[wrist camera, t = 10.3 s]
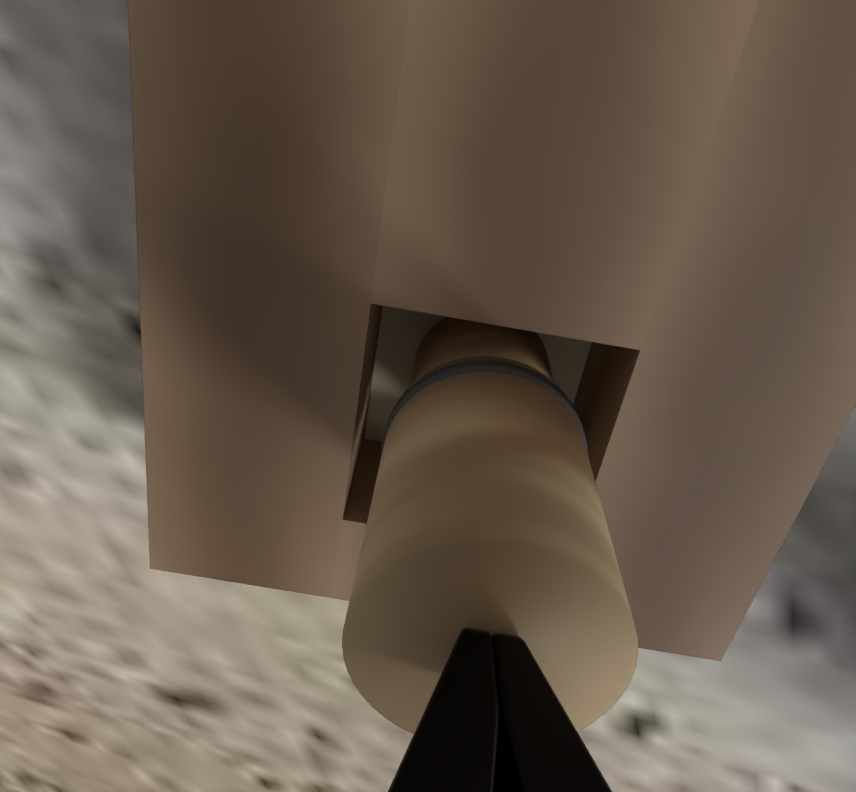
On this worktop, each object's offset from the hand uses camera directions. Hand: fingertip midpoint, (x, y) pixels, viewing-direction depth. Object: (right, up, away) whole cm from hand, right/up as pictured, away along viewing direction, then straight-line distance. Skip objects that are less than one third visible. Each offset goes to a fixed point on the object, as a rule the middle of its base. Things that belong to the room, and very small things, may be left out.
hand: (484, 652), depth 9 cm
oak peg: (+1, +4, +8) cm, 9 cm away
